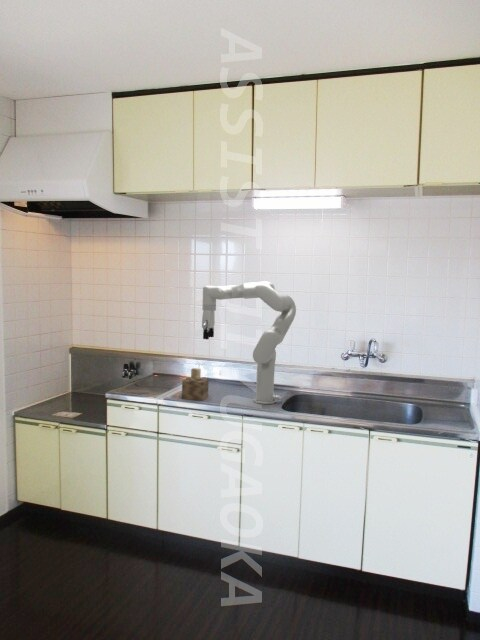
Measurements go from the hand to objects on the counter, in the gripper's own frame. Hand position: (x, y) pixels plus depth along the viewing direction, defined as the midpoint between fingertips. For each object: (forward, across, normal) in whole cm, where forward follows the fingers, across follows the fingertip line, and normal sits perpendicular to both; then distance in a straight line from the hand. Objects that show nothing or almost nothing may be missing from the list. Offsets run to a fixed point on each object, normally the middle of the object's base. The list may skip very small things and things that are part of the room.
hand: (208, 338), depth 292 cm
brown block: (+32, +10, -4) cm, 34 cm away
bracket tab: (+25, +10, -4) cm, 27 cm away
